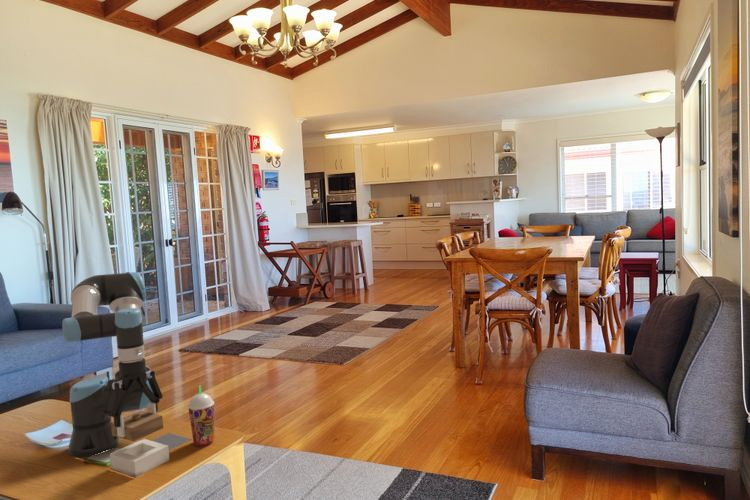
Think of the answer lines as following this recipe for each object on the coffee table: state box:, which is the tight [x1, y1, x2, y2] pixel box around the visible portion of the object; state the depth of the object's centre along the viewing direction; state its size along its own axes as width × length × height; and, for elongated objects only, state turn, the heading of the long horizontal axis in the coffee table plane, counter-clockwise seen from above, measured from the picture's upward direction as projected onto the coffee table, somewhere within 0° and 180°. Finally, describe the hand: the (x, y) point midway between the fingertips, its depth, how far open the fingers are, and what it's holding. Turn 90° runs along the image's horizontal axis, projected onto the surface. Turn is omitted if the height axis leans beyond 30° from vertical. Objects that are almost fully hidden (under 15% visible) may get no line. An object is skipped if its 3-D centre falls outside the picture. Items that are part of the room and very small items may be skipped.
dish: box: [109, 438, 170, 479], centre depth 174 cm, size 12×12×5 cm
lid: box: [111, 410, 164, 442], centre depth 173 cm, size 10×10×5 cm
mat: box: [151, 432, 193, 451], centre depth 189 cm, size 12×12×1 cm
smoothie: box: [187, 385, 215, 447], centre depth 187 cm, size 8×8×20 cm
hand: (137, 429), depth 173 cm, fingers closed on lid, 10 cm apart
